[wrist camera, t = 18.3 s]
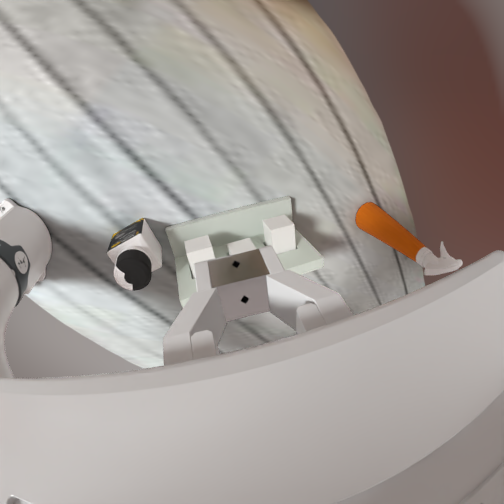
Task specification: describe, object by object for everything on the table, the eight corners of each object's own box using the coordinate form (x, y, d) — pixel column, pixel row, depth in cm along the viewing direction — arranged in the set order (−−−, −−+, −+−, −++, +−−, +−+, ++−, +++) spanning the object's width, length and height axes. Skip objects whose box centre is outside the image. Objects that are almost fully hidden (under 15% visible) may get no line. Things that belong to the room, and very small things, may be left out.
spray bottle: (387, 219, 64) (463, 274, 42) (355, 232, 62) (431, 297, 41) (388, 194, 60) (471, 245, 38) (354, 206, 58) (439, 267, 37)
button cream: (233, 282, 53) (239, 296, 49) (225, 243, 48) (231, 256, 44) (256, 275, 54) (263, 289, 50) (250, 236, 49) (258, 249, 45)
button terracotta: (266, 260, 53) (274, 274, 49) (260, 219, 48) (270, 231, 44) (288, 254, 54) (298, 266, 50) (285, 213, 49) (295, 224, 45)
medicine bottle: (143, 216, 46) (138, 248, 36) (162, 247, 50) (163, 284, 40) (112, 234, 46) (100, 269, 36) (131, 263, 50) (126, 302, 40)
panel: (177, 262, 53) (183, 309, 41) (165, 227, 48) (167, 268, 37) (290, 231, 57) (323, 267, 45) (287, 195, 52) (323, 225, 41)
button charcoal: (195, 281, 50) (199, 296, 46) (183, 241, 46) (185, 254, 42) (219, 274, 51) (224, 289, 47) (208, 233, 46) (213, 246, 43)
